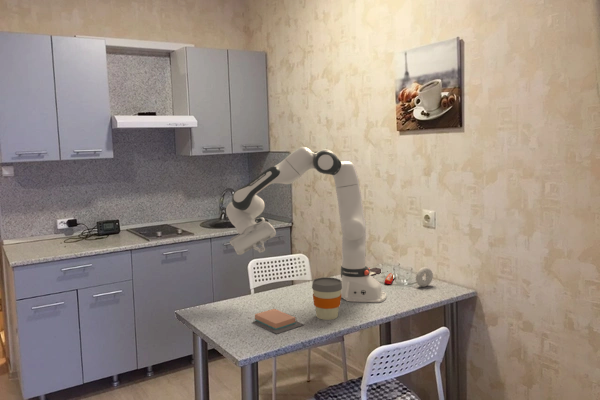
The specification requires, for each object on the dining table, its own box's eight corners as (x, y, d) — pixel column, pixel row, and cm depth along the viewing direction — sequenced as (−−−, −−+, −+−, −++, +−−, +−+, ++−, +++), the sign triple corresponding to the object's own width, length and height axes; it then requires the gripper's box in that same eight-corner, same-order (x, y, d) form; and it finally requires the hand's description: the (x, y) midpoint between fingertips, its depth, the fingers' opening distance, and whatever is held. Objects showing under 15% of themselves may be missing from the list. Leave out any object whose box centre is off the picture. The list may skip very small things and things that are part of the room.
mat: (252, 322, 204) (252, 321, 204) (279, 314, 213) (279, 313, 213) (276, 334, 192) (276, 333, 192) (304, 325, 201) (304, 324, 201)
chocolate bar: (388, 270, 280) (367, 276, 268) (388, 272, 280) (367, 278, 268) (375, 267, 286) (354, 273, 274) (375, 269, 286) (354, 275, 274)
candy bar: (390, 286, 253) (391, 280, 253) (383, 285, 254) (383, 279, 254) (396, 277, 268) (396, 272, 268) (389, 277, 269) (389, 271, 269)
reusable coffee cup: (318, 309, 219) (318, 276, 217) (345, 312, 214) (345, 278, 212) (307, 319, 207) (307, 283, 206) (336, 323, 203) (336, 287, 201)
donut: (418, 288, 247) (418, 269, 246) (413, 287, 250) (414, 267, 249) (434, 286, 251) (434, 266, 250) (429, 284, 254) (429, 265, 253)
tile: (254, 314, 205) (275, 323, 195) (274, 308, 212) (295, 317, 201) (255, 320, 206) (275, 329, 195) (274, 314, 212) (295, 323, 202)
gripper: (226, 236, 225) (241, 258, 218) (265, 215, 231) (281, 236, 224) (228, 243, 230) (243, 265, 223) (267, 223, 236) (282, 244, 229)
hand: (262, 251), depth 223 cm, fingers closed
